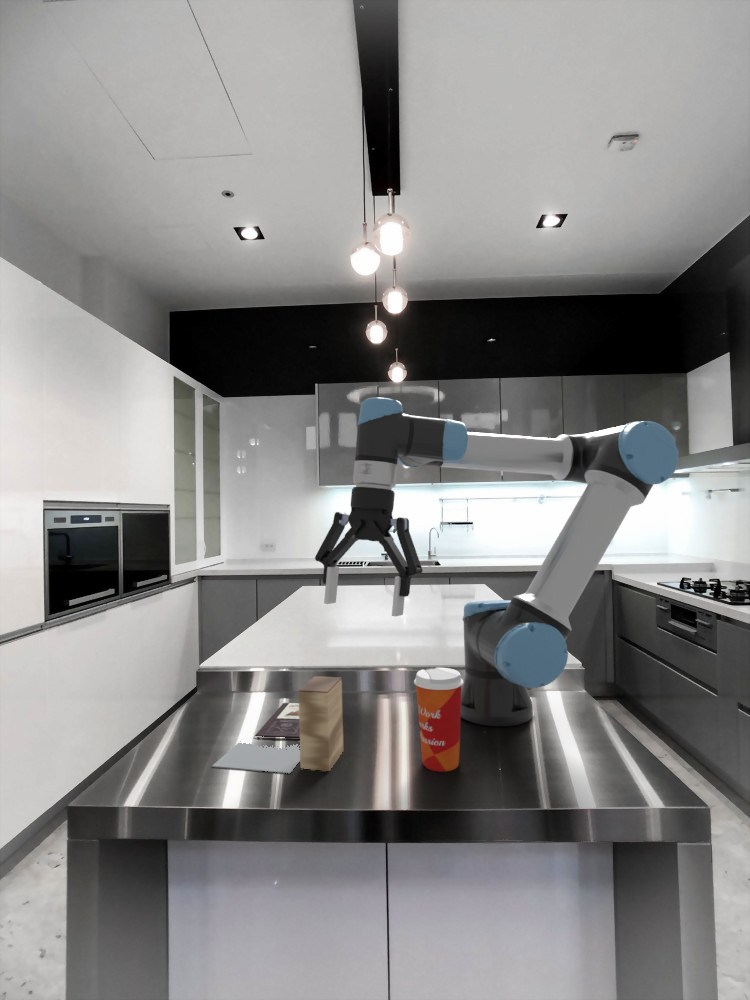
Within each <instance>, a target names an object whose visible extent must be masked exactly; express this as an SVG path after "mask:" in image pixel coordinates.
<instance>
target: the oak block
mask: <svg viewBox="0 0 750 1000" xmlns="http://www.w3.org/2000/svg"><path fill="white" fill-rule="evenodd" d="M342 681H343V680H342V677H341V676H323V675H322V676H319V675H318V676H317V675H315V676H313V677H312V678H311V679H309V680H308V681H307V682H306V683H305V684H304V685H303V686H302V687H301V688H300V689H298V703H299V727H300V740H299V742H300V763H299V764H300V768H304V769H311V770H310V771H315V770H322V771H321V772H326V771H330V772H331V770H332V769H333V768H334V766H335V764H336V762H337V761H338V760H339V759H340V758H341V756H342V754H343V753H344V725H343V724H344V723H343V722H344V718H343V714H344V713H343V682H342ZM342 752H343V753H342ZM340 755H341V756H340ZM333 765H334V766H333ZM331 768H332V769H331Z"/></svg>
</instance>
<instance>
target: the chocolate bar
mask: <svg viewBox="0 0 750 1000" xmlns="http://www.w3.org/2000/svg"><path fill="white" fill-rule="evenodd" d="M255 736H262V737H263V736H264V737H285V738H300V727H299V702H298V703H297V702H283V703H282V704H281V705H280V706H279V707H278V709H277V710H276V711H275V712H274V713H273V714H272V715H271V716H270V718H269V719H268V720H267V721H266V722H265V723H264V725H263V726H261V728H260V729H259V730H258V731H257V733H255V735H254V737H255Z"/></svg>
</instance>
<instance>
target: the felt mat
mask: <svg viewBox="0 0 750 1000" xmlns="http://www.w3.org/2000/svg"><path fill="white" fill-rule="evenodd" d="M239 742H241V740H240V741H239ZM239 742H238V743H236V744H235V745H234V746H233V747H232V748H231V749H229V750H228V751H227V752H226V753H225V754H223V756H222V757H221V758H219V759H218V760H217V761H216V762H214V763H213V765H211V767H212V768H219V769H231V770H240V771H241V770H243V771H253V772H262V771H265V772H264V773H273V772H275V774H285V773H286V774H285V775H287V773H288V775H290V773H291V772H293V771H294V770H295V769H296V768H297V766H298V765H299V764H300V763H299V762H300V750H299V749H300V748H299V746H300V745H299V746H298V744H296V745H294V744H293V746H292V745H290V747H289V746H288V745H287V747H286V748H283V747H282V749H281V748H279V750H278V748H276V747H274V748H273V745H272V747H271V746H270V747H268V746H267V745H265V746H264V745H263V746H264V748H263V747H262V746H260V747H259V746H258V745H256V746H255V745H254V744H253V745H252V744H250V743H249V744H246V743H243V744H242V743H239ZM297 746H298V747H297ZM266 747H267V748H266ZM277 747H278V746H277ZM286 749H287V750H286ZM298 763H299V764H298ZM297 764H298V765H297ZM296 765H297V766H296ZM295 767H296V768H295ZM294 768H295V769H294ZM293 769H294V770H293ZM267 771H268V772H267ZM276 772H277V773H276ZM291 774H292V773H291Z"/></svg>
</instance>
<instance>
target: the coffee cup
mask: <svg viewBox="0 0 750 1000" xmlns="http://www.w3.org/2000/svg"><path fill="white" fill-rule="evenodd" d="M463 680H464V678H462V674H461V673H460V672H459V671H458V670H456V669H453V668H449V667H435V668H434V667H430V668H426V669H420V670H418V671H417V673H416V675H415V679H414V680H413V684H414V685H415V688H416V700H417V712H418V713H417V714H418V725H419V726H418V727H419V737H420V738H419V740H420V747H421V749H420V751H421V758H422V759H421V761H422V765H423V767H424V766H425V767H426V769H427V770H429V771H431V772H436V771H437V772H438V773H447V772H450V771H451V772H452V771H453V770H456V769H457V768H458V767H459V763H460V750H461V749H460V746H461V745H460V743H461V719H462V717H461V687H462V685H463V683H464V682H463ZM425 767H424V768H425Z"/></svg>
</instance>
